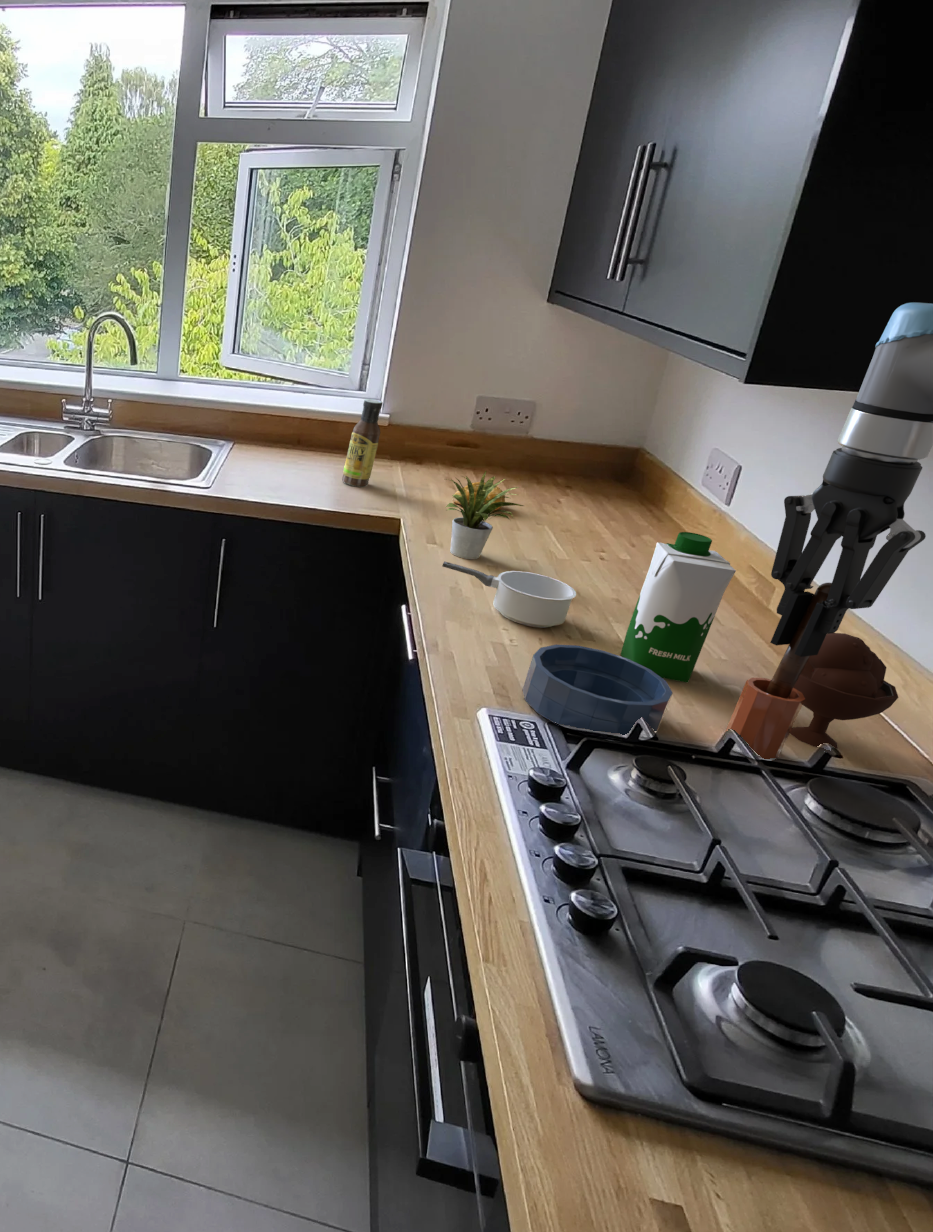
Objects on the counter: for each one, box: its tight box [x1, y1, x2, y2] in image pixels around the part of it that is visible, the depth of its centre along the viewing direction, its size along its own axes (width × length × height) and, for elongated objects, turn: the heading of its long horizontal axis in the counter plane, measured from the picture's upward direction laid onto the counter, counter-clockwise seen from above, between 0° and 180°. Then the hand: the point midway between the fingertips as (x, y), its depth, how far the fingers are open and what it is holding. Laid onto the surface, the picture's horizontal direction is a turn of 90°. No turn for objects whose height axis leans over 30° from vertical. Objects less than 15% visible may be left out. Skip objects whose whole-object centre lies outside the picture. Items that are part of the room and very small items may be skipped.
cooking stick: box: [766, 582, 832, 699], centre depth 106 cm, size 2×2×22 cm
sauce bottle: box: [341, 398, 383, 488], centre depth 206 cm, size 6×6×20 cm
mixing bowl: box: [522, 644, 674, 735], centre depth 115 cm, size 16×16×6 cm
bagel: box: [451, 481, 506, 512], centre depth 200 cm, size 10×11×5 cm
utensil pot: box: [724, 677, 805, 759], centre depth 108 cm, size 6×6×9 cm
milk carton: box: [620, 531, 737, 684], centre depth 126 cm, size 9×9×20 cm
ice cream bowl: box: [789, 632, 899, 750], centre depth 111 cm, size 11×11×15 cm
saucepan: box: [442, 561, 577, 629], centre depth 145 cm, size 12×20×6 cm, turn 58°
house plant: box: [445, 470, 524, 560], centre depth 166 cm, size 14×14×16 cm
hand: (793, 648), depth 104 cm, fingers closed on cooking stick, 2 cm apart
